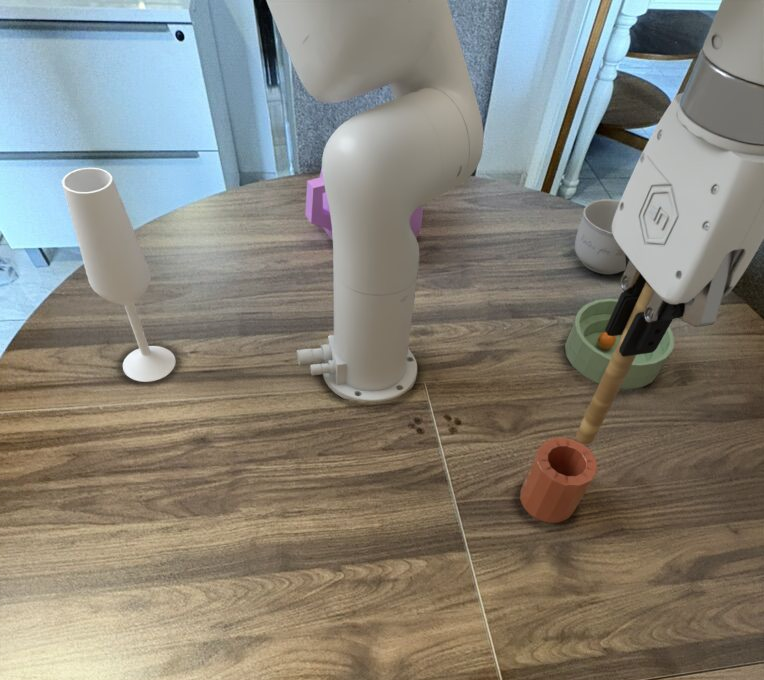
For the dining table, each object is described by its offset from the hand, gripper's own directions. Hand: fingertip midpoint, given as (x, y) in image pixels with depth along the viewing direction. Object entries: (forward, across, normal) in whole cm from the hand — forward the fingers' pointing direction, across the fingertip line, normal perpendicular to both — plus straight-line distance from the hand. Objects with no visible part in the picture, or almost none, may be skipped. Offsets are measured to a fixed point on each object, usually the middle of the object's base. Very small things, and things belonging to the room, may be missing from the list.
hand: (629, 340), depth 51 cm
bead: (+23, -23, +18) cm, 37 cm away
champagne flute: (+24, -32, -43) cm, 59 cm away
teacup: (+24, -41, +29) cm, 56 cm away
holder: (+24, 0, 0) cm, 24 cm away
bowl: (+24, -21, +19) cm, 37 cm away
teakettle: (+24, -57, -7) cm, 63 cm away
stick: (+13, 0, 0) cm, 13 cm away
